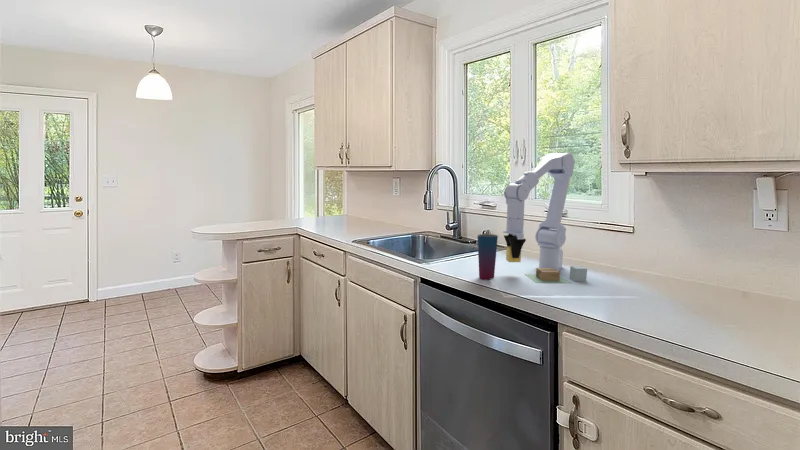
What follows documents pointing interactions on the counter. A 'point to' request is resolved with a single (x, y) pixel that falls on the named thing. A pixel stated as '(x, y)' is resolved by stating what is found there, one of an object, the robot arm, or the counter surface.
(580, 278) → the brick
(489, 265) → the cup
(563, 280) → the baseplate
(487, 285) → the counter surface
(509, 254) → the mustard brick
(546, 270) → the base brick
